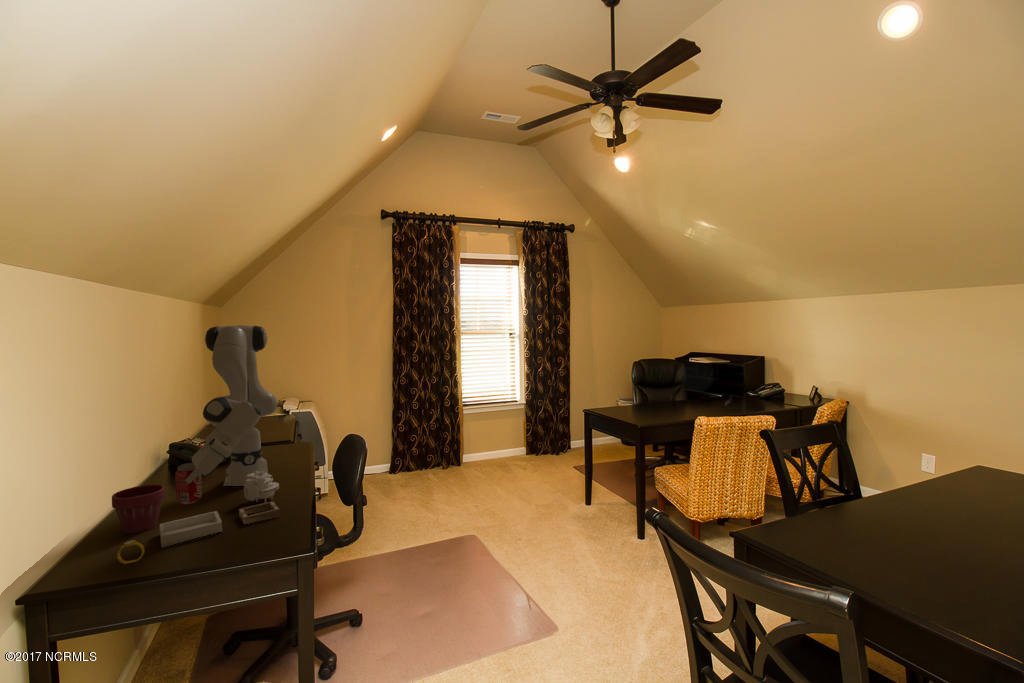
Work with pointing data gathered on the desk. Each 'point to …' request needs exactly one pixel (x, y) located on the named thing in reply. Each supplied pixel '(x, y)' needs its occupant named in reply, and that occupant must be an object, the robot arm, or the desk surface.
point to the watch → (126, 544)
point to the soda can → (187, 485)
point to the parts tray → (189, 528)
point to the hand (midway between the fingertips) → (185, 479)
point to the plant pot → (138, 507)
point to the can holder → (260, 516)
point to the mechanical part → (259, 486)
